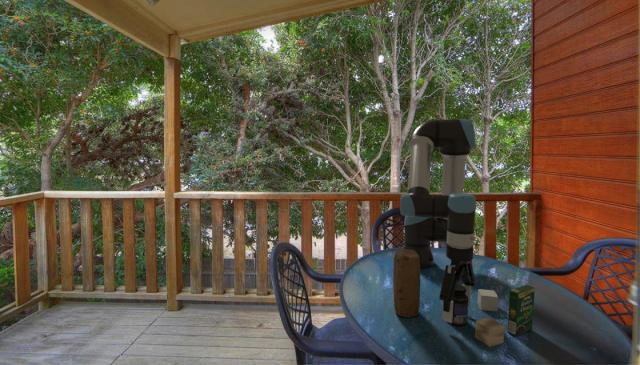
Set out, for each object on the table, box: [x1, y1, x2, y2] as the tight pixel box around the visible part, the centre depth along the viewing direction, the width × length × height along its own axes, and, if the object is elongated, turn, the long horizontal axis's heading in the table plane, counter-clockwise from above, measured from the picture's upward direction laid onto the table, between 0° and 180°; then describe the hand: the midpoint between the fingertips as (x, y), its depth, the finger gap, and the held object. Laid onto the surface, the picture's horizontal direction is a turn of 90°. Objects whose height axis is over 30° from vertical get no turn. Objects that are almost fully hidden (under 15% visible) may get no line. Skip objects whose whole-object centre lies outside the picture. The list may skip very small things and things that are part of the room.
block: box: [392, 248, 421, 318], centre depth 111 cm, size 11×8×20 cm
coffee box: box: [507, 284, 536, 338], centre depth 99 cm, size 8×3×13 cm, turn 118°
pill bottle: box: [449, 283, 469, 327], centre depth 105 cm, size 6×6×11 cm
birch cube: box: [474, 317, 505, 348], centre depth 95 cm, size 5×5×5 cm
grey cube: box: [477, 288, 499, 312], centre depth 114 cm, size 5×5×5 cm
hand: (456, 312), depth 105 cm, fingers open, 13 cm apart
